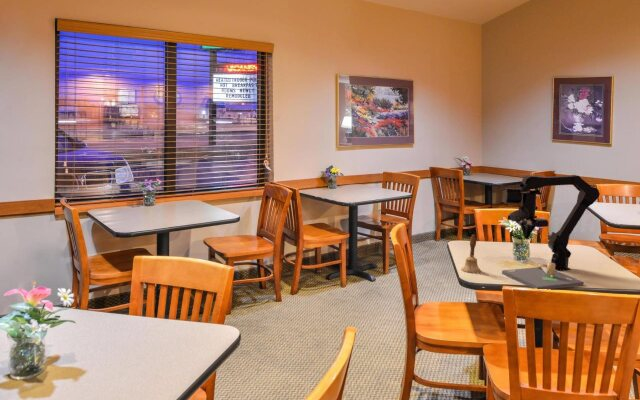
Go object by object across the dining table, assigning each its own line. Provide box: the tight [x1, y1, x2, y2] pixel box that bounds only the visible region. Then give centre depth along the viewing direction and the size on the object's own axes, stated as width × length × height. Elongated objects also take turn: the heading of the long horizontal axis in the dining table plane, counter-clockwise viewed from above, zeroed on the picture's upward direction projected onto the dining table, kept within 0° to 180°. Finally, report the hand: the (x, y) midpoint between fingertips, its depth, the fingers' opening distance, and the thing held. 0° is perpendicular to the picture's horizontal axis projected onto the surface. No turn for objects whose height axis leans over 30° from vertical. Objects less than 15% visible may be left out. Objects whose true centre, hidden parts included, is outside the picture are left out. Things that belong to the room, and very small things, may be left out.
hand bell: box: [460, 234, 482, 274], centre depth 221 cm, size 8×8×16 cm
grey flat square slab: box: [501, 266, 585, 290], centre depth 211 cm, size 22×22×2 cm
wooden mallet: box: [537, 262, 556, 277], centre depth 215 cm, size 16×4×5 cm, turn 171°
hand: (526, 238), depth 226 cm, fingers closed
